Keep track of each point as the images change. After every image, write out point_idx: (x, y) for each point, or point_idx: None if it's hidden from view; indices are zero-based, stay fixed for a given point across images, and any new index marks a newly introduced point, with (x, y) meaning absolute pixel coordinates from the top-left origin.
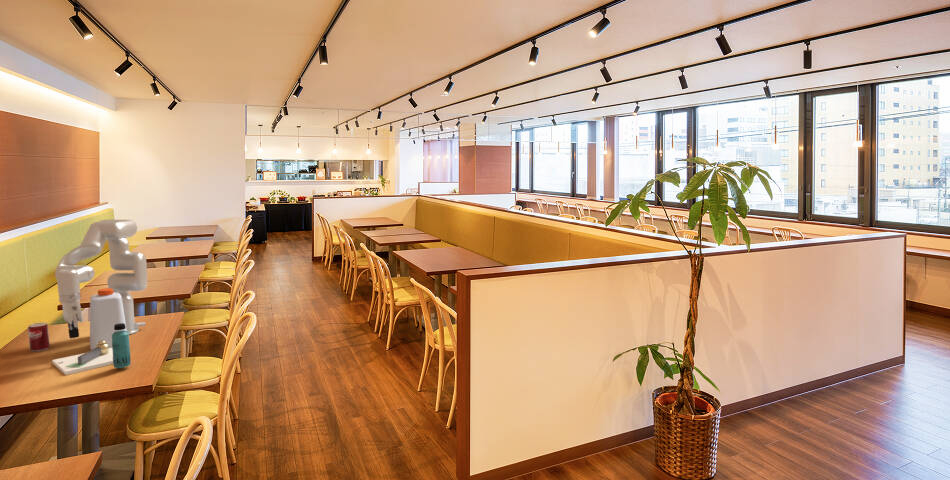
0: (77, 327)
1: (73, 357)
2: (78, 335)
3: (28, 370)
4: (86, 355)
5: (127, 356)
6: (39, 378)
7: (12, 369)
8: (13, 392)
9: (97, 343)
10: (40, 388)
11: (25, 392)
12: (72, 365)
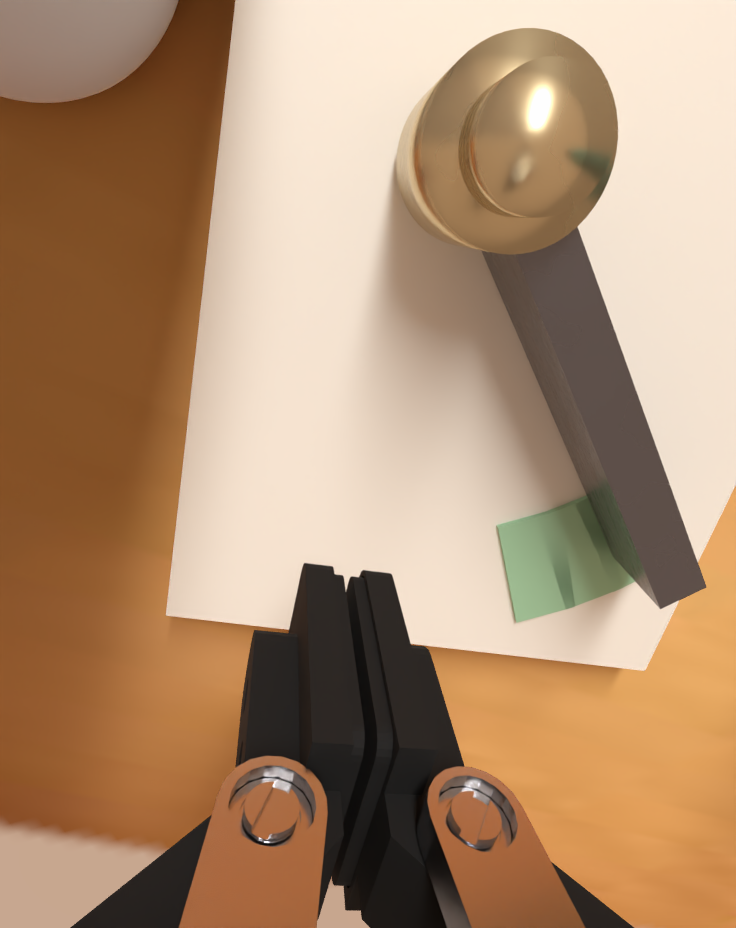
0: (524, 834)
1: (272, 456)
2: (390, 593)
3: (212, 757)
4: (673, 508)
5: None
6: (499, 766)
7: (66, 812)
8: (602, 902)
9: (111, 16)
10: (700, 813)
11: (672, 870)
12: (557, 582)
